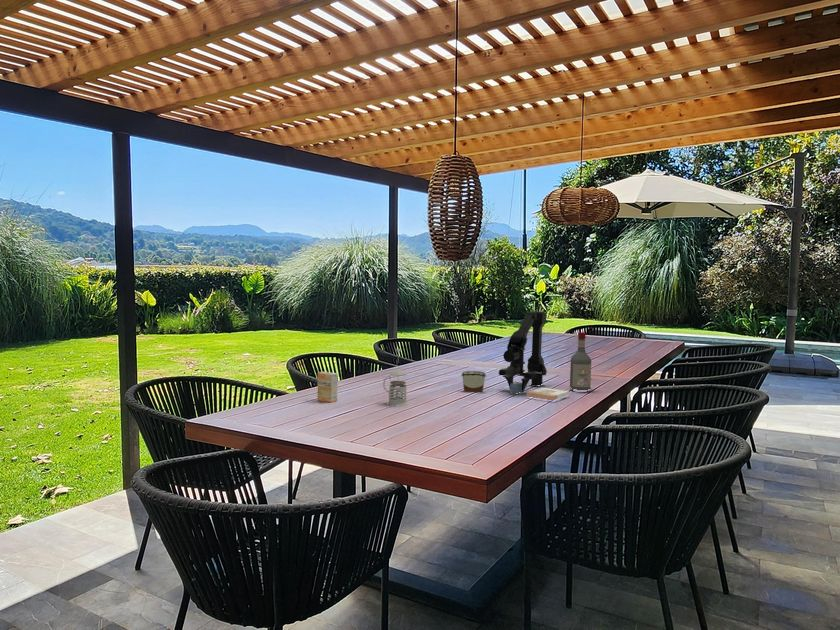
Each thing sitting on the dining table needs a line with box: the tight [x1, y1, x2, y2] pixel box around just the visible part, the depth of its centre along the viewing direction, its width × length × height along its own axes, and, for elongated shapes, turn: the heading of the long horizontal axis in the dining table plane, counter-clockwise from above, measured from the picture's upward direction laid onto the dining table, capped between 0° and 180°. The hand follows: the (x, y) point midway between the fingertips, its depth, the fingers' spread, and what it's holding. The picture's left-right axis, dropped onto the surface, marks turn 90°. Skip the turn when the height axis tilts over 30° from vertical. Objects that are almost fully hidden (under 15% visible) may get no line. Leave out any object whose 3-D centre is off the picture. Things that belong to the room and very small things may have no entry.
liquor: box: [569, 331, 592, 390], centre depth 300 cm, size 9×9×30 cm
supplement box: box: [316, 370, 339, 404], centre depth 269 cm, size 8×5×13 cm, turn 62°
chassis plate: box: [526, 387, 570, 400], centre depth 283 cm, size 16×14×3 cm
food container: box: [460, 370, 487, 393], centre depth 296 cm, size 12×6×10 cm, turn 84°
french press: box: [382, 348, 409, 406], centre depth 266 cm, size 10×12×25 cm
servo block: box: [509, 381, 522, 394], centre depth 294 cm, size 9×4×6 cm, turn 140°
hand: (516, 390), depth 294 cm, fingers open, 6 cm apart
